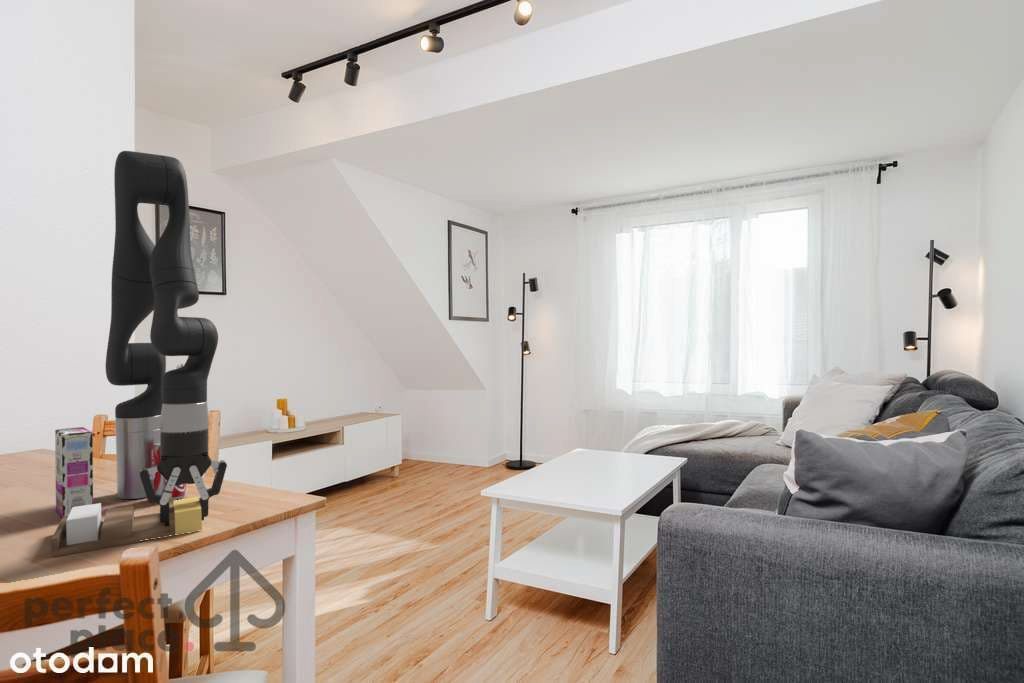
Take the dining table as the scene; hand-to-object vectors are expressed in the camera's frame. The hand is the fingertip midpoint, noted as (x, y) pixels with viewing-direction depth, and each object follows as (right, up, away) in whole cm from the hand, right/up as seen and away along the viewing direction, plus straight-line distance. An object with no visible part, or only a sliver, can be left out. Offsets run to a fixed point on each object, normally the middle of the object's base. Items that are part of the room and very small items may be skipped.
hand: (184, 521), depth 102 cm
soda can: (-14, -1, +19) cm, 23 cm away
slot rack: (-9, -1, -3) cm, 10 cm away
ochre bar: (+1, -1, 0) cm, 1 cm away
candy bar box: (-27, -2, +9) cm, 28 cm away
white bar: (-13, 0, -6) cm, 15 cm away
